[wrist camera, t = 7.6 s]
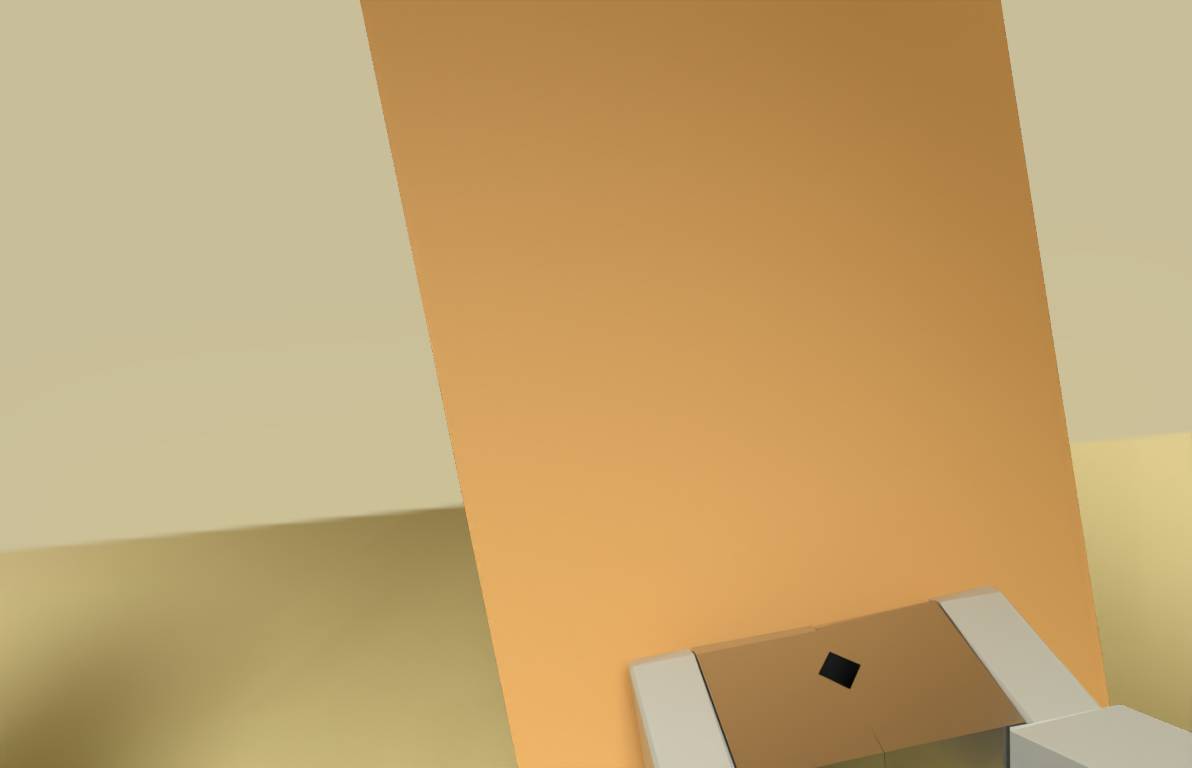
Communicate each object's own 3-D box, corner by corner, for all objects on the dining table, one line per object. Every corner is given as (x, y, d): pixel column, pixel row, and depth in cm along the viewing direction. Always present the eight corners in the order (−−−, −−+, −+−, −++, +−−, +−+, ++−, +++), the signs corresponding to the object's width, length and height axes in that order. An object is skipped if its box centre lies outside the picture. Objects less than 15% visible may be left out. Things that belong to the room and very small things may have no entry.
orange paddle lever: (653, 1486, 10) (331, -71, 9) (631, 1321, 11) (356, -14, 10) (1217, 1332, 10) (984, -181, 9) (1120, 1193, 12) (911, -109, 11)
